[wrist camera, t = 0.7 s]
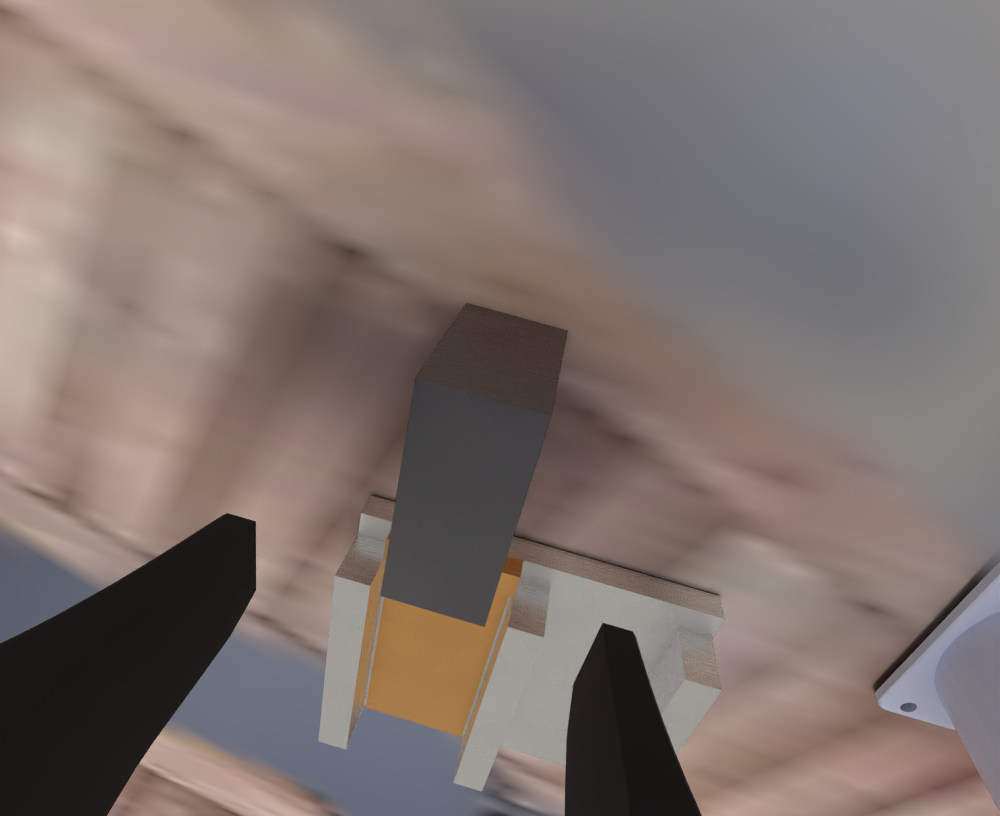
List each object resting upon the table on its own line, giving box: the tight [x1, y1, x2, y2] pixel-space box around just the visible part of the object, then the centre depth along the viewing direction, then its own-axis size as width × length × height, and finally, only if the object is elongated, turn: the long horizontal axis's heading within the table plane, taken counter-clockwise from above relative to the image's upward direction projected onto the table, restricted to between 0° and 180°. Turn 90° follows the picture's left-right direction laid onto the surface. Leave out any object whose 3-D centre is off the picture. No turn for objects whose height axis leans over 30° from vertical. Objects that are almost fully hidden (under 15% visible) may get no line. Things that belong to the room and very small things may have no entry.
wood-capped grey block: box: [380, 303, 568, 627], centre depth 16 cm, size 3×7×5 cm, turn 168°
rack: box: [319, 495, 724, 791], centre depth 22 cm, size 13×11×3 cm
